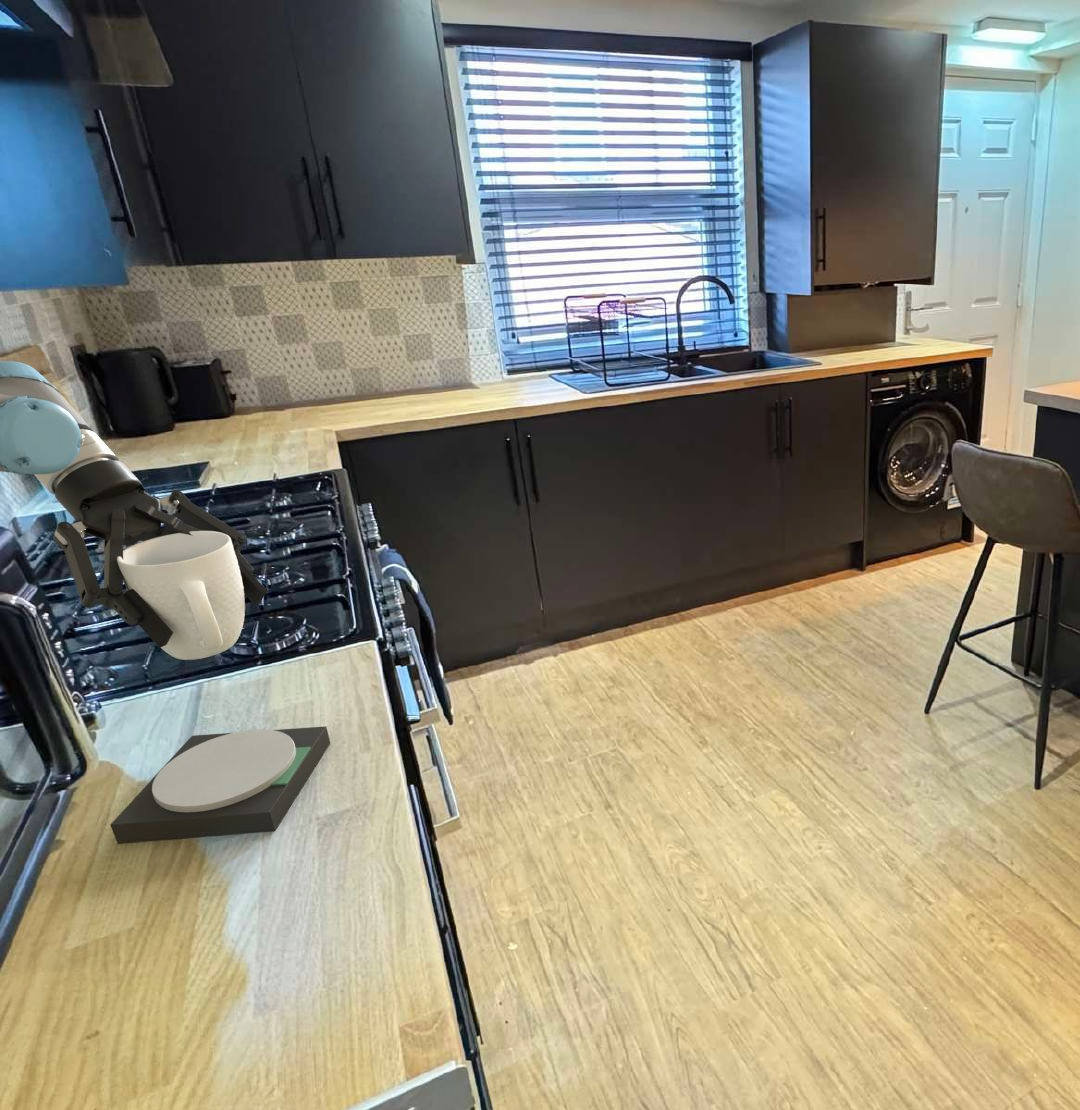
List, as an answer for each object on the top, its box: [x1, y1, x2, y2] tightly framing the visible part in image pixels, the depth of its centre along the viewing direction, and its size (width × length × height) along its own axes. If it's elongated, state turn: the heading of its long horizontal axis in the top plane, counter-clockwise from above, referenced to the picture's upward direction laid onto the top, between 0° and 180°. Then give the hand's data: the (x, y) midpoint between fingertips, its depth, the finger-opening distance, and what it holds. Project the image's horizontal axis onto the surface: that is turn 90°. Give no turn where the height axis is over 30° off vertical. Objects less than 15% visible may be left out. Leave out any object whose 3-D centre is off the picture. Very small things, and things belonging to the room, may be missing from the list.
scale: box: [110, 725, 331, 845], centre depth 85 cm, size 15×15×3 cm
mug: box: [117, 531, 246, 661], centre depth 90 cm, size 15×11×13 cm
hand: (216, 618), depth 91 cm, fingers closed on mug, 11 cm apart
